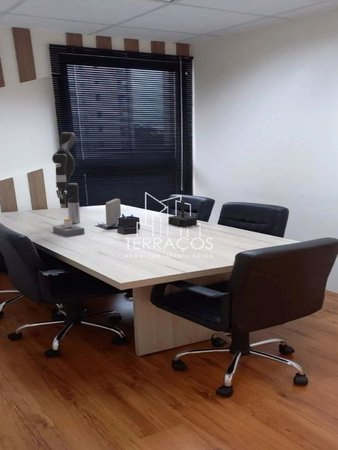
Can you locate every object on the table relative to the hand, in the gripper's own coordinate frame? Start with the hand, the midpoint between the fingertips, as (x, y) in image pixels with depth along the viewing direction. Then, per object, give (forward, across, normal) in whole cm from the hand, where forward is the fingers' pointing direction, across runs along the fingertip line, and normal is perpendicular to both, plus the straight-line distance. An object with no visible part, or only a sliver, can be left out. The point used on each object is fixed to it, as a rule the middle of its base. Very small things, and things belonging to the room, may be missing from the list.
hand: (62, 203), depth 317 cm
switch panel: (+21, -7, 0) cm, 22 cm away
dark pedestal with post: (+22, -44, -82) cm, 96 cm away
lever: (+17, -7, 0) cm, 18 cm away
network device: (+21, -5, -42) cm, 47 cm away
